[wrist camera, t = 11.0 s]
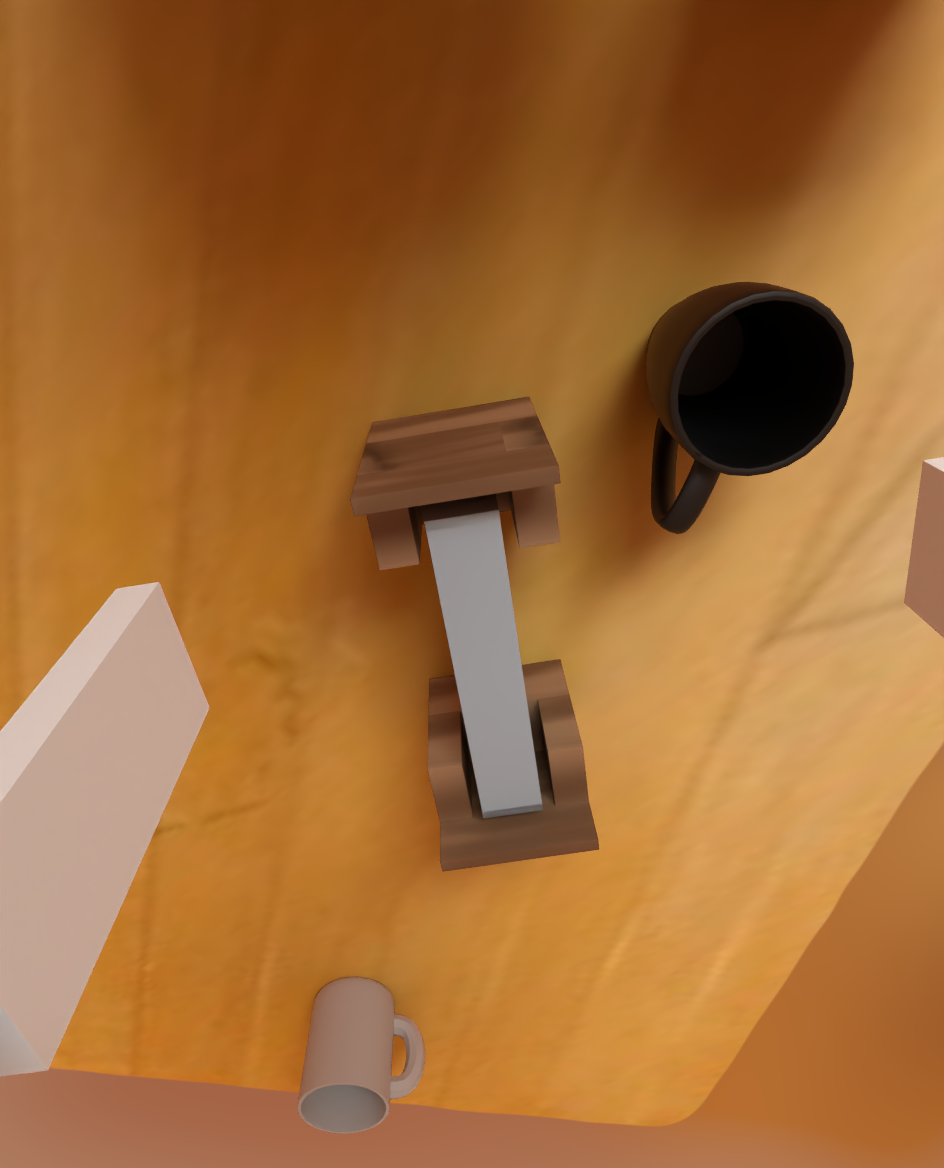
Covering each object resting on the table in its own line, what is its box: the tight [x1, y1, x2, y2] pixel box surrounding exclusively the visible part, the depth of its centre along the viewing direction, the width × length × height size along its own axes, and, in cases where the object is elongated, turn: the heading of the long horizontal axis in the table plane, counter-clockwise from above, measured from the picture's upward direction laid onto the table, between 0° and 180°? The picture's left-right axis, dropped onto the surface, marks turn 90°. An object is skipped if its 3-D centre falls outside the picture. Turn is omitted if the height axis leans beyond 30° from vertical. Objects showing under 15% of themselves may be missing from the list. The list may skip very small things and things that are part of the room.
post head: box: [350, 397, 560, 570], centre depth 38 cm, size 5×9×12 cm, turn 99°
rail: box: [424, 494, 543, 819], centre depth 42 cm, size 19×4×6 cm, turn 9°
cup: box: [297, 977, 425, 1134], centre depth 63 cm, size 7×10×9 cm
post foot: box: [428, 659, 599, 871], centre depth 47 cm, size 5×9×12 cm, turn 99°
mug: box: [646, 282, 854, 534], centre depth 38 cm, size 8×12×10 cm
